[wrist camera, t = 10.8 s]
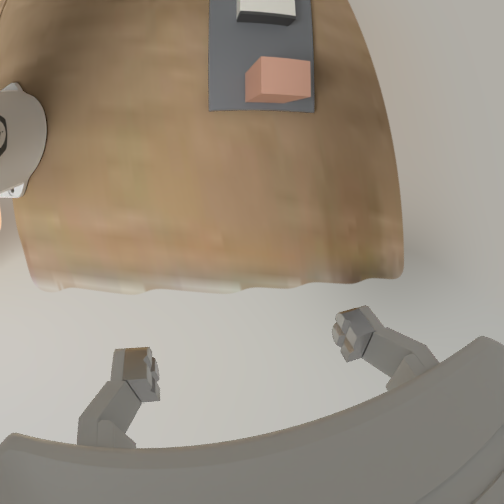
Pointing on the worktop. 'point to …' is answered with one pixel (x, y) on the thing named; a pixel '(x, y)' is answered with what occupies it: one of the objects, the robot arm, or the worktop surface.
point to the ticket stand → (255, 48)
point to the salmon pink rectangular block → (277, 80)
